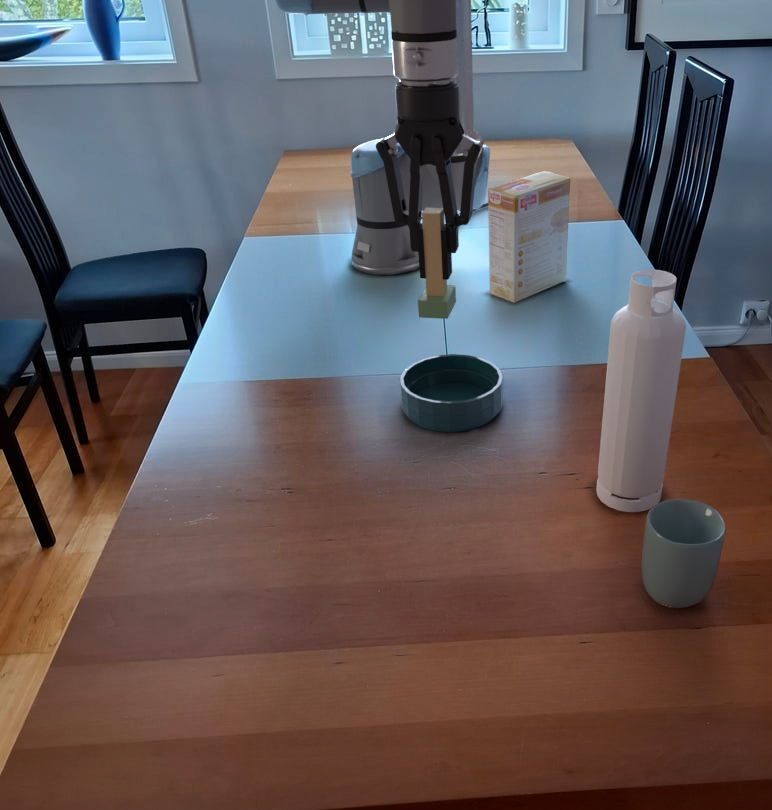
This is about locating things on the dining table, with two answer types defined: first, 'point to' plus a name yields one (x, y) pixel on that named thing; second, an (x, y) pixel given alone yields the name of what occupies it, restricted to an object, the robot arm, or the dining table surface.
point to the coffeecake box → (528, 235)
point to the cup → (681, 551)
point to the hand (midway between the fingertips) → (436, 275)
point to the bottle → (640, 394)
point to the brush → (434, 269)
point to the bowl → (451, 392)
